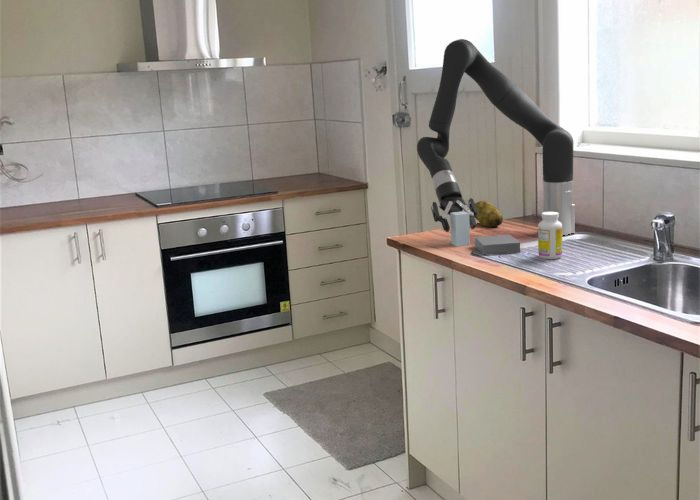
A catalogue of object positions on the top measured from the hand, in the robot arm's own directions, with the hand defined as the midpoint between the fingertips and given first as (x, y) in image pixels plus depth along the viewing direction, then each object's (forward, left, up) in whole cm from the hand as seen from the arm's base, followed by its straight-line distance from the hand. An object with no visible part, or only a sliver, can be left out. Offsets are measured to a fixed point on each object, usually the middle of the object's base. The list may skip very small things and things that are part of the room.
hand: (461, 229), depth 243 cm
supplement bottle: (-21, +22, -5) cm, 31 cm away
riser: (-9, +9, -5) cm, 14 cm away
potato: (-15, -26, -5) cm, 30 cm away
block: (0, -1, -5) cm, 5 cm away
